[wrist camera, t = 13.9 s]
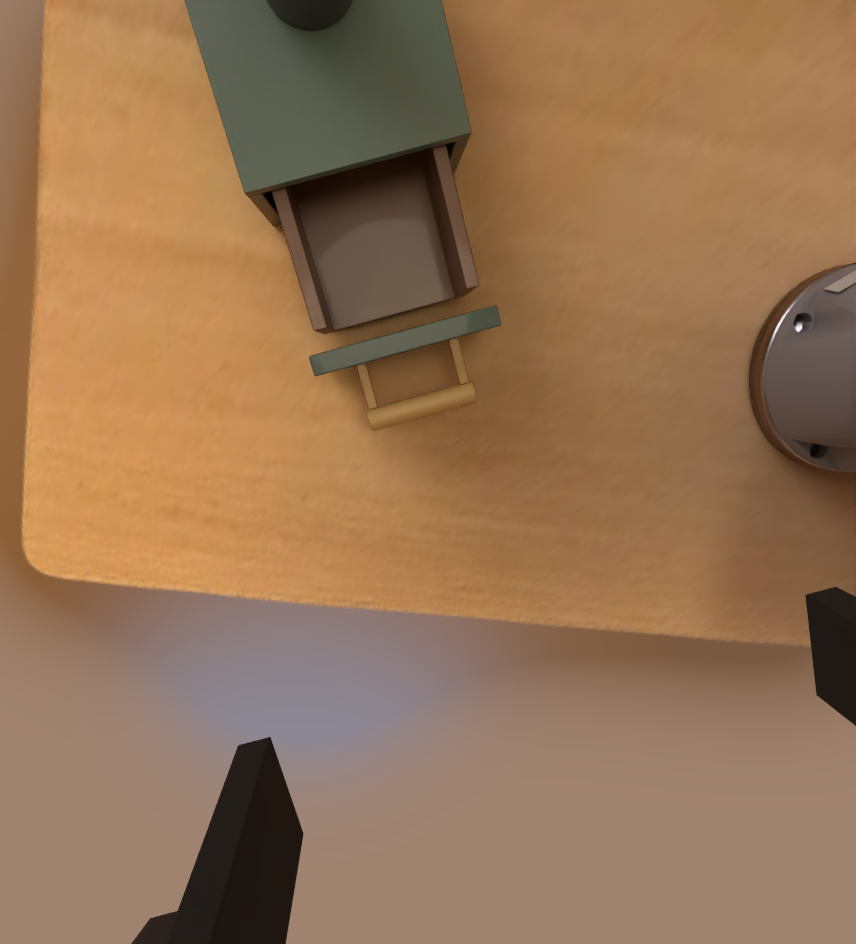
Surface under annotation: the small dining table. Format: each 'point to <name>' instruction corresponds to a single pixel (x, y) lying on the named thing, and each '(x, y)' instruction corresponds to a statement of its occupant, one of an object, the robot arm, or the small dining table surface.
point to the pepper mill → (310, 12)
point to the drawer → (385, 267)
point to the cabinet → (329, 89)
